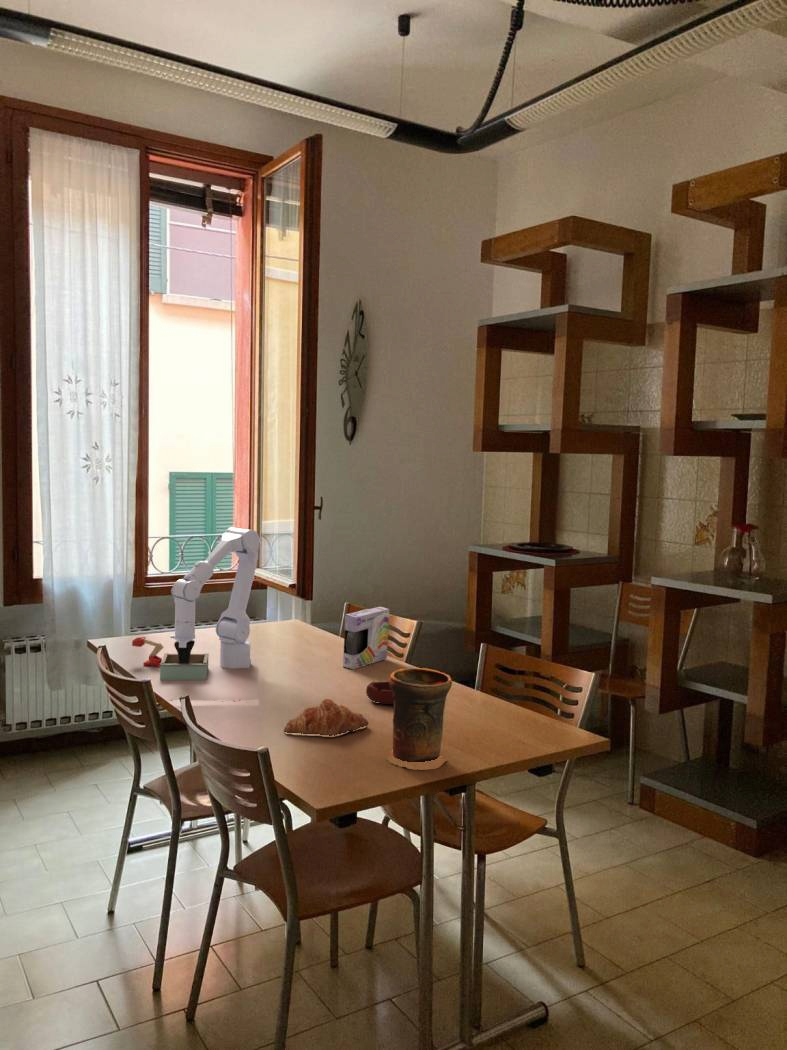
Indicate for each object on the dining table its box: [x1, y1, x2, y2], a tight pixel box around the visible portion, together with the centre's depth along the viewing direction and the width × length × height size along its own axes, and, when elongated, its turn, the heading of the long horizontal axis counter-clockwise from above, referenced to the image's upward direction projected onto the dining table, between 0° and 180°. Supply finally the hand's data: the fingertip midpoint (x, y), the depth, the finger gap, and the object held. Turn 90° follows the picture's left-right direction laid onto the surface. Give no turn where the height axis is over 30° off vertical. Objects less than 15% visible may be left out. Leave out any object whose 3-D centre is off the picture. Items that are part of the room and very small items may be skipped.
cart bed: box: [161, 653, 209, 678], centre depth 257 cm, size 13×11×6 cm
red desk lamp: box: [131, 636, 164, 668], centre depth 264 cm, size 3×14×10 cm, turn 84°
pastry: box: [283, 698, 369, 736], centre depth 216 cm, size 17×15×8 cm
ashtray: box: [365, 680, 394, 705], centre depth 243 cm, size 18×16×5 cm
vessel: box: [388, 667, 453, 762], centre depth 198 cm, size 14×14×20 cm
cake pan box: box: [342, 606, 390, 670], centre depth 281 cm, size 19×5×18 cm, turn 143°
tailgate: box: [159, 664, 207, 681], centre depth 251 cm, size 13×1×4 cm, turn 99°
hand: (184, 666), depth 253 cm, fingers closed
